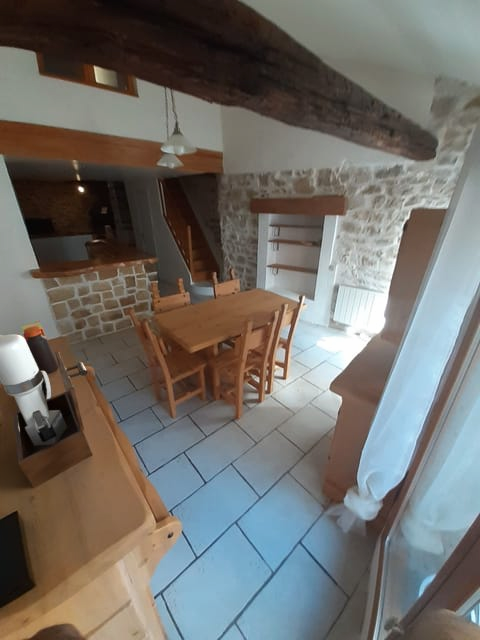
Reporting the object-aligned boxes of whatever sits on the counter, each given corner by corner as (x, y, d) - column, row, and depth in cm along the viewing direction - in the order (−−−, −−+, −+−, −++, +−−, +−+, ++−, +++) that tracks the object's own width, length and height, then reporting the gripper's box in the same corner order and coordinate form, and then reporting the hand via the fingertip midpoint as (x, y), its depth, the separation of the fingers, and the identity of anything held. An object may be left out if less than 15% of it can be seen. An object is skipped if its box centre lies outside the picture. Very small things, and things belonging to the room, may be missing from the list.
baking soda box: (54, 359, 114) (42, 328, 107) (36, 364, 110) (22, 333, 103) (51, 350, 120) (39, 320, 113) (34, 355, 117) (20, 325, 109)
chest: (33, 488, 65) (18, 464, 60) (25, 435, 78) (13, 412, 74) (92, 455, 73) (83, 431, 68) (76, 412, 87) (67, 391, 82)
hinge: (26, 390, 96) (28, 366, 94) (42, 387, 99) (43, 365, 97) (32, 415, 85) (34, 390, 83) (49, 412, 88) (52, 387, 86)
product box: (56, 445, 71) (47, 427, 67) (33, 446, 70) (23, 428, 67) (68, 427, 76) (60, 409, 73) (47, 428, 76) (38, 410, 73)
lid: (69, 387, 62) (94, 379, 65) (54, 351, 76) (75, 346, 79) (80, 431, 68) (102, 421, 71) (65, 390, 82) (84, 384, 85)
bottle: (60, 363, 111) (44, 323, 102) (56, 373, 105) (39, 331, 96) (41, 367, 109) (23, 326, 100) (37, 376, 103) (17, 334, 94)
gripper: (2, 370, 67) (27, 417, 75) (5, 408, 56) (34, 458, 64) (37, 359, 72) (57, 404, 80) (46, 392, 60) (68, 440, 68)
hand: (47, 428), depth 72 cm, fingers closed on product box, 8 cm apart
